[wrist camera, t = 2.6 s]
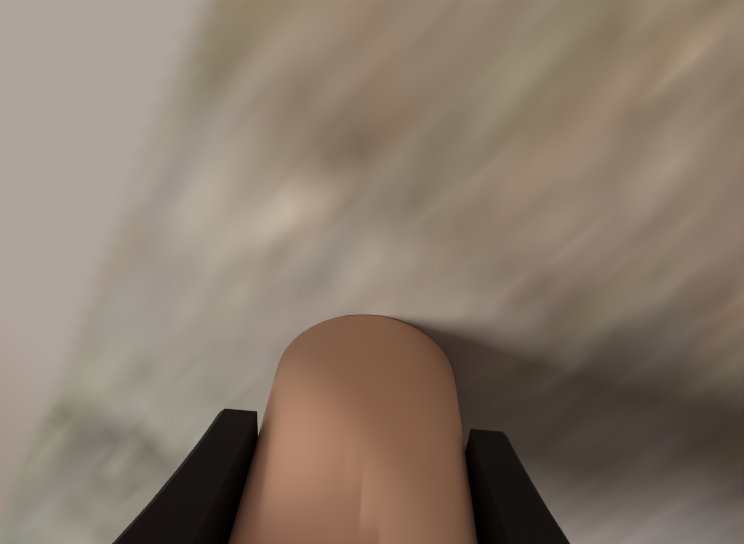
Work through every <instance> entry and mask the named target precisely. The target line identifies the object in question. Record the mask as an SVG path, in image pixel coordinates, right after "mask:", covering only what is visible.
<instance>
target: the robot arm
mask: <svg viewBox="0 0 744 544" xmlns="http://www.w3.org/2000/svg"><path fill="white" fill-rule="evenodd" d="M257 439H258V425H257V411H246V410H234V409H224V410H222V411H221V412H220V413H219V414H218V415H217V417H216V418H215V420H214V421H213V423H212V424H211V425H210V427H209V428H208V430H207V431H206V432H205V434H204V435H203V437H202V438H201V439H200V441H199V442H198V443H197V445H196V446H195V447H194V449H193V450H192V451H191V452H190V454H189V455H188V456H187V458H186V459H185V460H184V461H183V463H182V464H181V465H180V467H179V468H178V469H177V470H176V471H175V473H174V474H173V475H172V476H171V477H170V479H169V480H168V481H167V482H166V483H165V485H164V486H163V487H162V488H161V489H160V491H159V492H158V493H157V494H156V495H155V497H154V498H153V499H152V500H151V501H150V503H149V504H148V505H147V506H146V507H145V508H144V510H143V511H142V512H141V513H140V514H139V515H138V516H137V517H136V518H135V519H134V520H133V522H132V523H131V524H130V525H129V526H128V527H127V528H126V529H125V530H124V531H123V533H122V534H121V535H120V536H119V537H118V538H117V539H116V540H115V541H114V542H113V543H112V544H228V542H229V539H230V535H231V531H232V528H233V524H234V521H235V517H236V514H237V510H238V507H239V503H240V499H241V496H242V492H243V489H244V485H245V482H246V478H247V474H248V471H249V467H250V464H251V460H252V457H253V453H254V450H255V446H256V442H257ZM465 454H466V461H467V468H468V475H469V482H470V489H471V496H472V503H473V511H474V518H475V525H476V532H477V539H478V544H570V543H569V541H568V540H567V538H566V536H565V535H564V533H563V532H562V530H561V529H560V527H559V526H558V524H557V522H556V521H555V519H554V518H553V516H552V515H551V513H550V511H549V510H548V508H547V506H546V505H545V503H544V502H543V500H542V498H541V497H540V495H539V493H538V491H537V490H536V488H535V486H534V485H533V483H532V481H531V479H530V478H529V476H528V474H527V472H526V471H525V469H524V467H523V465H522V464H521V462H520V460H519V458H518V456H517V454H516V453H515V451H514V449H513V447H512V445H511V443H510V441H509V439H508V437H507V436H506V435H505V434H504V433H503V432H499V431H487V430H475V429H471V430H470V434H469V439H468V443H467V447H466V451H465Z"/></svg>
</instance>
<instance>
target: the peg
mask: <svg viewBox="0 0 744 544" xmlns="http://www.w3.org/2000/svg"><path fill="white" fill-rule="evenodd" d="M228 544H478V539H477V532H476V525H475V518H474V511H473V503H472V496H471V489H470V482H469V475H468V468H467V461H466V454H465V447H464V440H463V433H462V426H461V419H460V412H459V405H458V398H457V391H456V384H455V377H454V373H453V369H452V367H451V364H450V362H449V360H448V358H447V356H446V355H445V353H444V352H443V351H442V349H441V348H440V347H439V346H438V345H437V343H435V342H434V341H433V340H432V339H431V338H430V337H429V336H427V335H426V334H424V333H423V332H421V331H420V330H418V329H416V328H414V327H412V326H411V325H409V324H406V323H403V322H401V321H398V320H395V319H391V318H387V317H381V316H374V315H351V316H343V317H338V318H334V319H330V320H327V321H324V322H322V323H319V324H317V325H315V326H313V327H311V328H309V329H308V330H306V331H304V332H303V333H302V334H300V335H299V336H298V337H297V338H296V339H294V341H293V342H292V343H291V344H290V345H289V346H288V347H287V349H286V350H285V352H284V353H283V355H282V357H281V359H280V362H279V364H278V368H277V371H276V375H275V378H274V382H273V385H272V389H271V392H270V396H269V400H268V403H267V407H266V410H265V414H264V417H263V421H262V425H261V428H260V432H259V435H258V439H257V442H256V446H255V450H254V453H253V457H252V460H251V464H250V467H249V471H248V474H247V478H246V482H245V485H244V489H243V492H242V496H241V499H240V503H239V507H238V510H237V514H236V517H235V521H234V524H233V528H232V531H231V535H230V539H229V542H228Z"/></svg>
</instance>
